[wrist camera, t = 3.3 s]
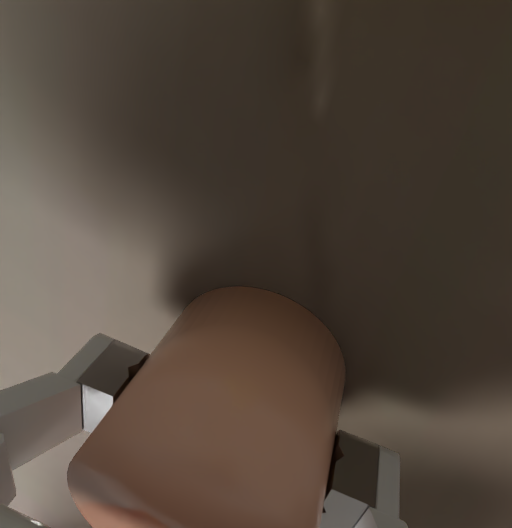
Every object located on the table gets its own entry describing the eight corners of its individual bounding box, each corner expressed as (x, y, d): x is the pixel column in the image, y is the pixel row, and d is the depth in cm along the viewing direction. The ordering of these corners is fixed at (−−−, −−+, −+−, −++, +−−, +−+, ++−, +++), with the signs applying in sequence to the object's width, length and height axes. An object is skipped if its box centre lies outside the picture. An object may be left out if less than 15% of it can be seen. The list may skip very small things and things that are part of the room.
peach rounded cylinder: (185, 260, 11) (60, 400, 7) (373, 328, 11) (351, 526, 7) (168, 385, 14) (72, 536, 10) (315, 445, 14) (275, 634, 9)
